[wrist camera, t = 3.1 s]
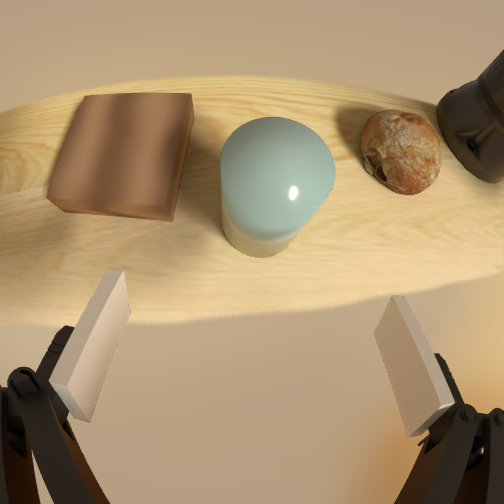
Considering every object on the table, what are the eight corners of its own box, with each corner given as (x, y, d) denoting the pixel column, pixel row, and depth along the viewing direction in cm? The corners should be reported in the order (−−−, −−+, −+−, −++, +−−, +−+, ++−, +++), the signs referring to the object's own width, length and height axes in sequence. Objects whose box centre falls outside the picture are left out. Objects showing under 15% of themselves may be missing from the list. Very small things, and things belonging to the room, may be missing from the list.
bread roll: (339, 155, 35) (343, 138, 27) (389, 102, 33) (402, 76, 25) (397, 212, 34) (416, 210, 26) (445, 156, 32) (471, 142, 24)
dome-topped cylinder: (298, 190, 29) (333, 126, 19) (295, 261, 28) (335, 225, 17) (226, 182, 29) (228, 111, 18) (217, 253, 27) (212, 210, 17)
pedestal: (194, 117, 30) (191, 93, 27) (172, 221, 28) (164, 206, 24) (96, 116, 30) (84, 95, 26) (64, 212, 27) (46, 197, 23)
